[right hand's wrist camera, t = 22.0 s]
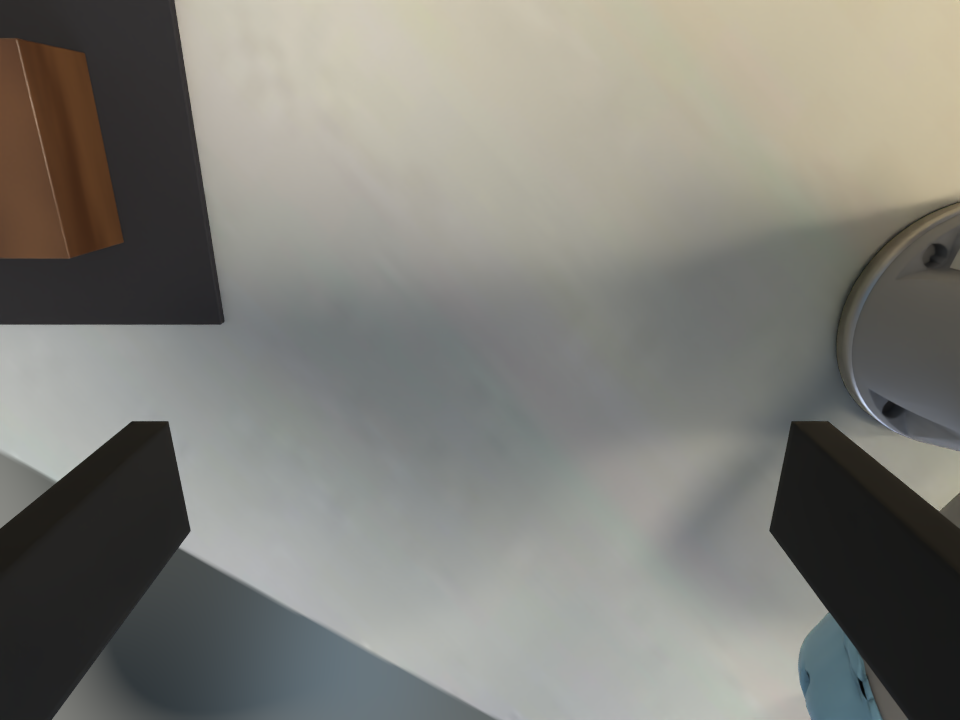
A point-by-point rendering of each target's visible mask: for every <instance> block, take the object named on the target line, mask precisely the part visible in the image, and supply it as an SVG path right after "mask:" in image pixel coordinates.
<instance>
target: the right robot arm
mask: <svg viewBox="0 0 960 720" xmlns="http://www.w3.org/2000/svg"><path fill="white" fill-rule="evenodd" d="M836 347H837V360H838V367H839V370H840V374H841V377H842V380H843V382H844V384H845V386H846V388H847V390H848V392H849V393H850V395H851V396H852V398H853V399H854V400H855V402H856V403H857V404H858V405H859V406H860V407H861V408H862V409H863V410H864V411H866V412H867V413H868V414H869V415H871V416H872V417H873V418H875V419H876V420H878V421H879V422H880V423H882V424H883V425H885V426H886V427H888V428H889V429H891V430H893V431H894V432H897V433H899V434H901V435H903V436H906V437H908V438H911V439H914V440H917V441H920V442H924V443H927V444H932V445H936V446H940V447H944V448H948V449H952V450H956V451H960V203H957V204H954V205H951V206H948V207H945V208H942V209H940V210H938V211H935V212H933V213H931V214H929V215H927V216H925V217H924V218H922V219H920V220H918V221H917V222H915V223H913V224H912V225H910V226H909V227H907V228H906V229H905V230H903V231H902V232H901V233H899V234H898V235H897V236H895V237H894V238H893V239H892V240H891V241H890V242H888V243H887V244H886V245H885V246H884V247H883V248H882V249H881V250H880V251H879V252H878V253H877V254H876V255H875V257H874V258H873V259H872V260H871V261H870V263H869V264H868V265H867V266H866V268H865V269H864V270H863V272H862V273H861V275H860V276H859V278H858V279H857V281H856V283H855V284H854V286H853V288H852V290H851V292H850V294H849V296H848V298H847V300H846V303H845V306H844V308H843V311H842V314H841V318H840V322H839V327H838V332H837V345H836ZM190 531H191V530H190V526H189V521H188V516H187V511H186V506H185V501H184V496H183V491H182V486H181V481H180V476H179V471H178V467H177V462H176V457H175V452H174V447H173V442H172V437H171V432H170V427H169V422H168V421H132V422H131V423H129V424H128V425H127V426H126V427H124V428H123V429H122V430H121V431H120V432H118V433H117V434H116V435H115V436H113V437H112V438H111V439H110V440H109V441H107V442H106V443H105V444H104V445H102V446H101V447H100V448H99V449H97V450H96V451H95V452H94V453H93V454H91V455H90V456H89V457H88V458H86V459H85V460H84V461H83V462H82V463H80V464H79V465H78V466H77V467H75V468H74V469H73V470H72V471H70V472H69V473H68V474H67V475H66V476H64V477H63V478H62V479H61V480H59V481H58V482H57V483H56V484H55V485H53V486H52V487H51V488H50V489H48V490H47V491H46V492H45V493H44V494H42V495H41V496H40V497H39V498H37V499H36V500H35V501H34V502H32V503H31V504H30V505H29V506H28V507H26V508H25V509H24V510H23V511H21V512H20V513H19V514H18V515H16V516H15V517H14V518H13V519H12V520H10V521H9V522H8V523H7V524H6V525H4V526H3V527H2V528H1V529H0V720H52V719H53V717H54V716H55V714H56V713H57V712H58V710H59V709H60V708H61V706H62V705H63V704H64V702H65V701H66V700H67V698H68V697H69V695H70V694H71V693H72V691H73V690H74V689H75V687H76V686H77V685H78V683H79V682H80V680H81V679H82V678H83V676H84V675H85V674H86V672H87V671H88V670H89V668H90V667H91V665H92V664H93V663H94V661H95V660H96V659H97V657H98V656H99V655H100V653H101V652H102V650H103V649H104V648H105V646H106V645H107V644H108V642H109V641H110V640H111V638H112V637H113V636H114V634H115V633H116V632H117V630H118V629H119V627H120V626H121V625H122V623H123V622H124V621H125V619H126V618H127V617H128V615H129V614H130V613H131V611H132V610H133V608H134V607H135V606H136V604H137V603H138V602H139V600H140V599H141V598H142V596H143V595H144V594H145V592H146V591H147V589H148V588H149V587H150V585H151V584H152V583H153V581H154V580H155V579H156V577H157V576H158V575H159V573H160V572H161V570H162V569H163V568H164V566H165V565H166V564H167V562H168V561H169V560H170V558H171V557H172V555H173V554H174V553H175V551H176V550H177V549H178V547H179V546H180V545H181V543H182V542H183V541H184V539H185V538H186V536H187V535H188V534H189V532H190ZM769 531H770V532H771V534H772V535H773V536H774V538H775V539H776V541H777V542H778V543H779V545H780V546H781V547H782V549H783V550H784V551H785V553H786V554H787V555H788V557H789V558H790V560H791V561H792V562H793V564H794V565H795V566H796V568H797V569H798V570H799V572H800V573H801V575H802V576H803V577H804V579H805V580H806V581H807V583H808V584H809V585H810V587H811V588H812V589H813V591H814V592H815V594H816V595H817V596H818V598H819V599H820V600H821V602H822V603H823V604H824V606H825V607H826V608H827V610H828V611H829V613H828V614H827V615H826V616H825V617H824V618H823V619H822V620H821V621H820V622H819V623H818V624H817V625H816V626H815V627H814V628H813V629H812V631H811V632H810V633H809V634H808V635H807V637H806V638H805V640H804V642H803V644H802V646H801V649H800V654H799V662H798V670H799V678H800V684H801V688H802V691H803V694H804V697H805V699H806V707H807V709H808V712H809V714H810V717H811V719H812V720H960V493H959V494H958V495H957V496H956V497H954V498H953V499H952V500H951V501H950V502H949V503H948V504H947V505H946V506H945V507H944V508H943V509H941V510H940V511H937V510H936V509H935V508H934V507H932V506H931V505H930V504H929V503H928V502H926V501H925V500H924V499H923V498H921V497H920V496H919V495H918V494H917V493H915V492H914V491H913V490H912V489H910V488H909V487H908V486H907V485H905V484H904V483H903V482H902V481H901V480H899V479H898V478H897V477H896V476H894V475H893V474H892V473H891V472H890V471H888V470H887V469H886V468H885V467H883V466H882V465H881V464H880V463H878V462H877V461H876V460H875V459H874V458H872V457H871V456H870V455H869V454H867V453H866V452H865V451H864V450H863V449H861V448H860V447H859V446H858V445H856V444H855V443H854V442H853V441H851V440H850V439H849V438H848V437H847V436H845V435H844V434H843V433H842V432H840V431H839V430H838V429H837V428H836V427H834V426H833V425H832V424H831V423H829V422H828V421H792V422H791V427H790V432H789V437H788V442H787V447H786V452H785V457H784V462H783V467H782V471H781V476H780V481H779V486H778V491H777V496H776V501H775V506H774V511H773V516H772V521H771V526H770V530H769Z"/></svg>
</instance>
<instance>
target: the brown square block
mask: <svg viewBox="0 0 960 720" xmlns="http://www.w3.org/2000/svg"><path fill="white" fill-rule="evenodd" d="M123 242H124V241H123V236H122V231H121V226H120V221H119V216H118V212H117V207H116V202H115V197H114V192H113V187H112V182H111V178H110V173H109V168H108V163H107V158H106V153H105V149H104V144H103V139H102V134H101V129H100V124H99V120H98V115H97V110H96V105H95V100H94V95H93V91H92V86H91V81H90V76H89V71H88V66H87V61H86V57H85V53H83V52H78V51H74V50H69V49H64V48H60V47H55V46H50V45H46V44H41V43H37V42H32V41H27V40H23V39H18V38H0V258H13V259H69V258H73V257H76V256H80V255H83V254H86V253H90V252H93V251H97V250H100V249H103V248H107V247H110V246H114V245H117V244H120V243H123Z"/></svg>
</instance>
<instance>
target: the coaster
mask: <svg viewBox="0 0 960 720" xmlns="http://www.w3.org/2000/svg"><path fill="white" fill-rule="evenodd" d="M0 38H18V39H23V40H27V41H32V42H37V43H41V44H46V45H50V46H55V47H60V48H64V49H69V50H74V51H78V52H83V53H85V57H86V61H87V66H88V71H89V76H90V81H91V86H92V91H93V95H94V100H95V105H96V110H97V115H98V120H99V124H100V129H101V134H102V139H103V144H104V149H105V153H106V158H107V163H108V168H109V173H110V178H111V182H112V187H113V192H114V197H115V202H116V207H117V212H118V216H119V221H120V226H121V231H122V236H123V241H124V242H123V243H120V244H117V245H114V246H110V247H107V248H103V249H100V250H97V251H93V252H90V253H86V254H83V255H80V256H76V257H73V258H69V259H13V258H0V324H222V323H223V322H224V316H223V310H222V304H221V297H220V291H219V284H218V278H217V272H216V265H215V259H214V252H213V246H212V240H211V233H210V227H209V221H208V214H207V208H206V201H205V195H204V189H203V182H202V176H201V169H200V163H199V157H198V150H197V144H196V138H195V131H194V125H193V118H192V112H191V106H190V99H189V93H188V86H187V80H186V74H185V67H184V61H183V55H182V48H181V42H180V35H179V29H178V23H177V16H176V10H175V3H174V0H0Z"/></svg>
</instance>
